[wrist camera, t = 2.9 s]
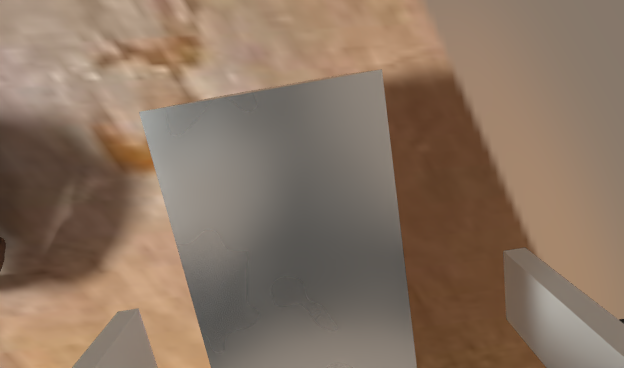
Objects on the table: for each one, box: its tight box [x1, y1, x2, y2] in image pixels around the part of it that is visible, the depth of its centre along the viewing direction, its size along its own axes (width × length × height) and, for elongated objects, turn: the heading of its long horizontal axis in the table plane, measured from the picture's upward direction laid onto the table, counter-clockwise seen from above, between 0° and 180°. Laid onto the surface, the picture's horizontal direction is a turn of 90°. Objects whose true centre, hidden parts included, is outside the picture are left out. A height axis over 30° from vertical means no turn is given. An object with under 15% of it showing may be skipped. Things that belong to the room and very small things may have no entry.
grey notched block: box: [139, 70, 417, 368], centre depth 14 cm, size 16×4×11 cm, turn 10°
